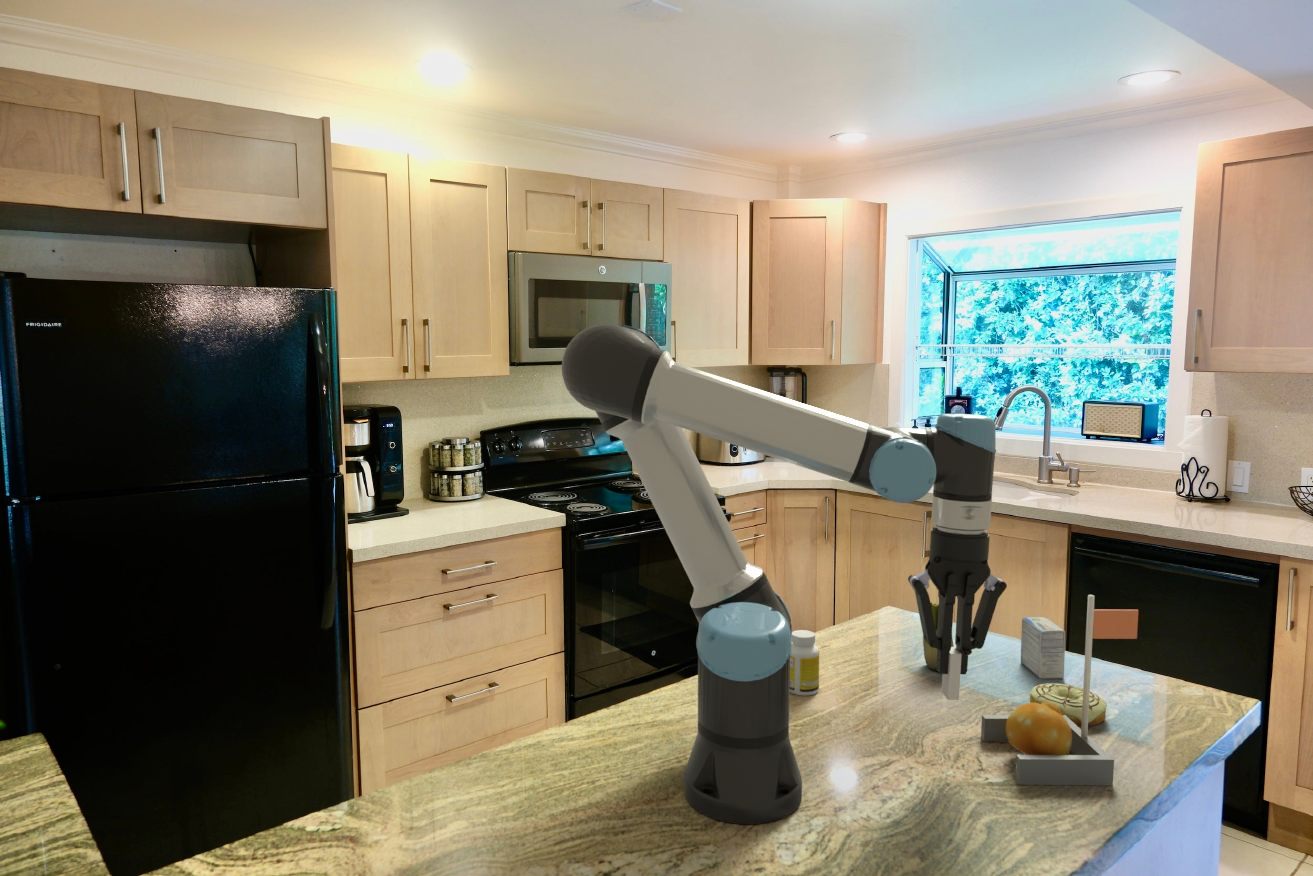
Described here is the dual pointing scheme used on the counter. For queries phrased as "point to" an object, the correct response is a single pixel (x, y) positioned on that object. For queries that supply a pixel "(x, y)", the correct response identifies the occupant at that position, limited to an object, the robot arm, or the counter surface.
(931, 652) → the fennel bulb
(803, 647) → the supplement bottle
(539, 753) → the counter surface
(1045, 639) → the medicine box
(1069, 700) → the decorated donut
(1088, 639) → the flagpole corner frame
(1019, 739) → the fruit
